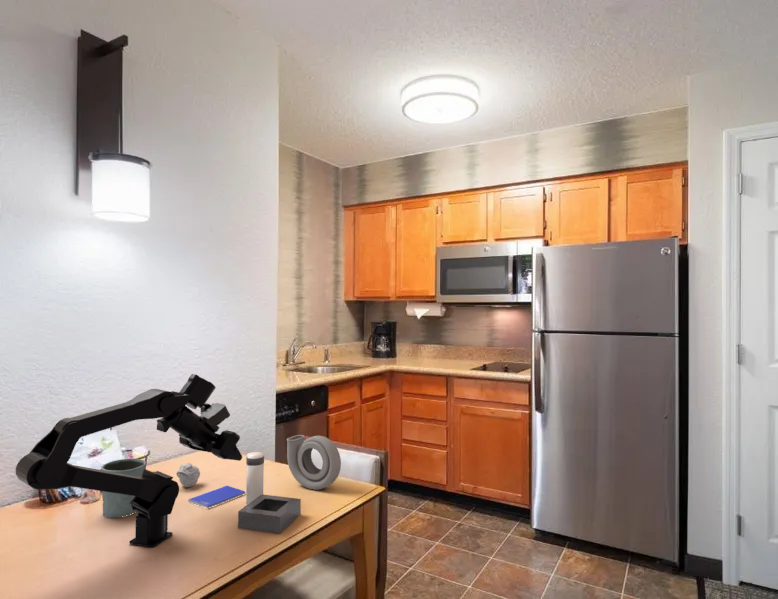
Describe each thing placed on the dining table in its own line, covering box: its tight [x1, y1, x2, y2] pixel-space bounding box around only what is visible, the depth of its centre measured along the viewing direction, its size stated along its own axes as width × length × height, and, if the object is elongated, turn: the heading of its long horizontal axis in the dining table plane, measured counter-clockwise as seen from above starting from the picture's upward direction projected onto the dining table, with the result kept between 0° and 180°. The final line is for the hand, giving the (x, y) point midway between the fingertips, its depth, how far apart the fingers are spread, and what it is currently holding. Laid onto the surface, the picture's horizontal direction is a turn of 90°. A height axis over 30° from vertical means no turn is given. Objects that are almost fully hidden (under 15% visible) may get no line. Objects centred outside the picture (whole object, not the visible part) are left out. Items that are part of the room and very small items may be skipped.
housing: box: [237, 493, 302, 535], centre depth 122 cm, size 11×11×4 cm
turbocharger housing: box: [286, 434, 342, 491], centre depth 145 cm, size 17×6×15 cm, turn 62°
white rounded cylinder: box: [245, 451, 265, 505], centre depth 133 cm, size 5×5×13 cm
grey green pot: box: [100, 458, 147, 518], centre depth 127 cm, size 10×10×12 cm
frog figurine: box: [176, 462, 201, 488], centre depth 144 cm, size 6×7×7 cm
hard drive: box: [187, 485, 246, 508], centre depth 136 cm, size 2×8×12 cm
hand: (230, 455), depth 128 cm, fingers open, 9 cm apart
